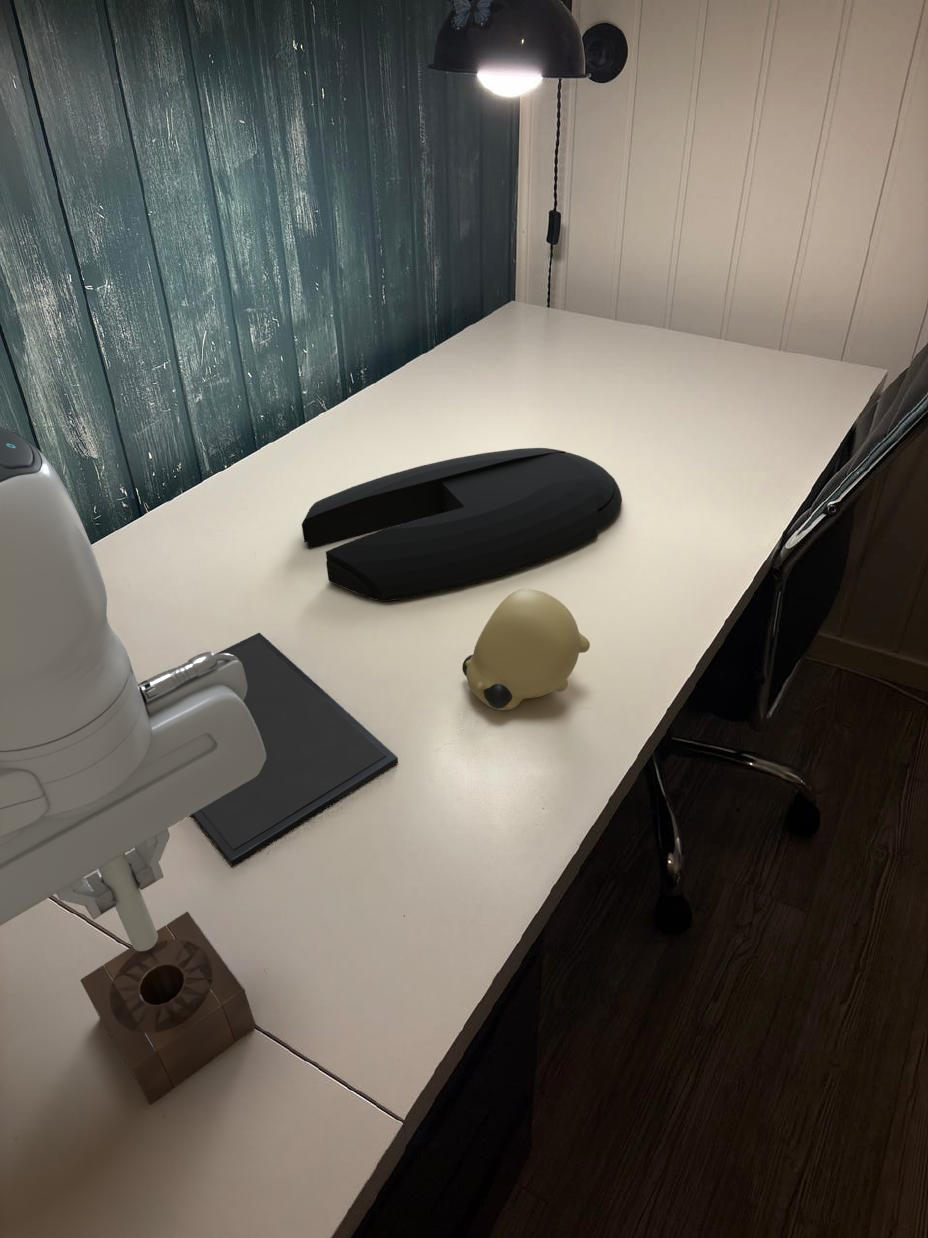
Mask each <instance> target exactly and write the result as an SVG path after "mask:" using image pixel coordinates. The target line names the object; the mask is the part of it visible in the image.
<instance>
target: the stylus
mask: <svg viewBox="0 0 928 1238" xmlns="http://www.w3.org/2000/svg"><path fill="white" fill-rule="evenodd" d="M126 855H127V854H126V853H124V854H123V855H121V856H119V857H118V858H116V859H114V860H112V861H111V862H109V863H107V864H106V865H104V866H102V867H100V868H99V869H98V872H99V874H100V875H101V877H102V878H103V881H104V883H106V884H107V886H108V887H109V889H110V890H111V893H112V895H113V899H114V900H115V902H116V904H117V905H116V906H115V907H114V908H115V910H116V912H117V914H118V917H119V919H120V922H121V923H122V925H123V928H124V930H125V932H126V934H127V938H128V939H129V942H130V944H131V947H132V946H133V948H134V949H135V950H137V951H143V953H145V954H150V953H152V952H153V951H154V949H155V944H156V942H157V940H158V934H157V929H156V925H155V923H154V921H153V919H152V916H151V914H150V912H149V909H148V907H147V904H146V902H145V899H144V897H143V894H142V892H141V890H140V889H139V887H138V885H137V882H136V880H135V877H134V875H133V873H132V870H131V867H130V865H129V862H128V860H127V857H126Z"/></svg>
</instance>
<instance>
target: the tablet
mask: <svg viewBox="0 0 928 1238" xmlns="http://www.w3.org/2000/svg"><path fill="white" fill-rule="evenodd" d="M220 653H228V654H232V655H234V656H236V657H237V658H238V659H239V660H240V661H241V663H242V665H243V668H244V672H245V677H246V681H247V693H246V696H245V698H244V700H243V702H244V703H245V705H246V707H247V708H248V710H249V712H250V714H251V716H252V717H253V720H254V722H255V724H256V726H257V728H258V731H259V733H260V736H261V739H262V741H263V744H264V748H265V751H266V760H265V762H264V765H263V767H262V769H261V771H260V773H259V774H258V775H257V776H256V777H255V778H253V779H252V780H250V781H248V782H246V783H245V784H243V785H241V786H239V787H238V788H236V789H234V790H233V791H231V792H229V793H227V794H226V795H224V796H222V797H221V798H219V799H217V800H215V801H214V802H212V803H210V804H208V805H207V806H205V807H203V808H202V809H200V810H198V811H196V812H195V813H193V814H191V815H190V816H191V817H192V818H193V819H194V821H195V822H196V823H197V825H198V826H199V827H200V828H201V829H202V831H203V832H204V833H205V835H207V837H208V838H209V839H210V840H211V842H212V843H213V844H214V845H215V847H216V848H217V849H218V850H219V852H220V853H221V854H222V855H223V857H224V858H225V859H226V860H227V862H228V863H229V864H230V865H231V867H235V866H237V865H238V864H240V863H241V862H243V861H245V860H246V859H247V858H249V857H251V856H253V855H254V854H256V853H257V852H258V851H261V850H263V849H264V848H265V847H267V846H268V845H270V844H272V843H273V842H274V841H277V840H278V839H280V838H281V837H283V836H284V835H286V834H288V833H289V832H291V831H292V830H294V829H296V828H297V827H299V826H300V825H302V824H303V823H305V822H307V821H308V820H310V819H311V818H313V817H315V816H317V815H318V814H319V813H322V812H323V811H324V810H326V809H328V808H329V807H331V806H332V805H334V804H335V803H337V802H338V801H340V800H342V799H343V798H345V797H346V796H348V795H349V794H351V793H353V792H354V791H356V790H358V789H360V788H361V787H362V786H364V785H367V783H370V781H372V780H374V779H375V778H377V777H378V776H381V774H384V773H385V772H386V771H388V770H389V769H391V768H393V767H394V766H396V765H398V764H399V758H398V756H397V755H396V754H395V753H394V752H393V751H391V749H389V748H388V747H387V746H386V744H384V743H383V742H381V741H380V739H378V738H377V737H376V736H375V735H374V734H373V733H372V732H370V731H369V730H368V729H367V728H366V727H365V726H364V725H363V724H362V723H360V722H359V721H358V719H356V718H355V717H354V716H352V715H351V713H349V712H348V711H347V710H346V709H345V708H344V707H342V705H340V704H339V703H338V702H337V701H336V700H335V699H334V698H333V697H332V696H331V695H329V694H328V693H327V692H326V691H325V690H324V689H323V688H321V686H320V685H318V684H317V683H316V682H315V681H314V680H313V679H312V678H311V677H310V676H308V675H307V674H306V672H304V671H303V670H302V669H300V667H299V666H297V665H296V664H295V663H294V662H293V661H292V660H291V659H290V658H289V657H287V655H285V654H284V653H283V652H282V651H281V650H280V649H279V648H277V647H276V646H275V645H274V644H273V643H272V642H270V640H269V639H267V637H265V636H264V635H263V634H262V633H261V632H256V633H255V634H252V635H251V636H249V637H247V638H244V639H243V640H241V641H239V642H237V643H235V644H233V645H230V646H229V647H227V648H225V649H223V650H221V651H219V652H218V651H217V652H216V653H213V654H214V655H215V654H220Z"/></svg>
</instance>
